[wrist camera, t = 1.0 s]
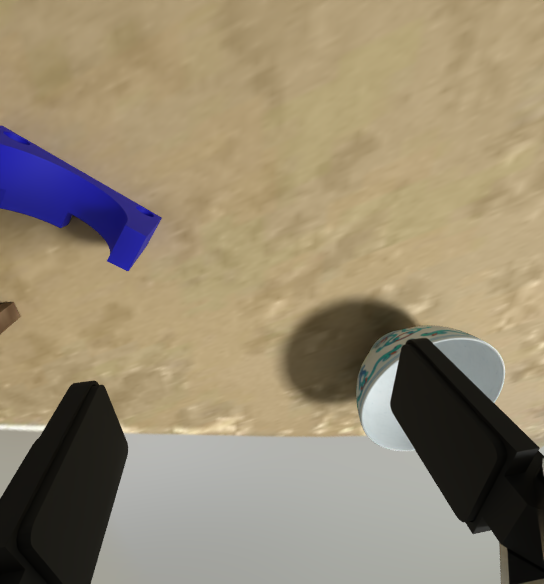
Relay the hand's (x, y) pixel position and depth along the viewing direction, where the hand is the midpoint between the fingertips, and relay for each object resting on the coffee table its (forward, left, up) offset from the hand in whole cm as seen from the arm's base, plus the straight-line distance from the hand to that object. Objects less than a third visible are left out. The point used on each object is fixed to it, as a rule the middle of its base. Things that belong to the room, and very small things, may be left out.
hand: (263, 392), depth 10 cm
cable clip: (-4, -12, -20) cm, 24 cm away
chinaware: (+17, +18, -20) cm, 31 cm away
